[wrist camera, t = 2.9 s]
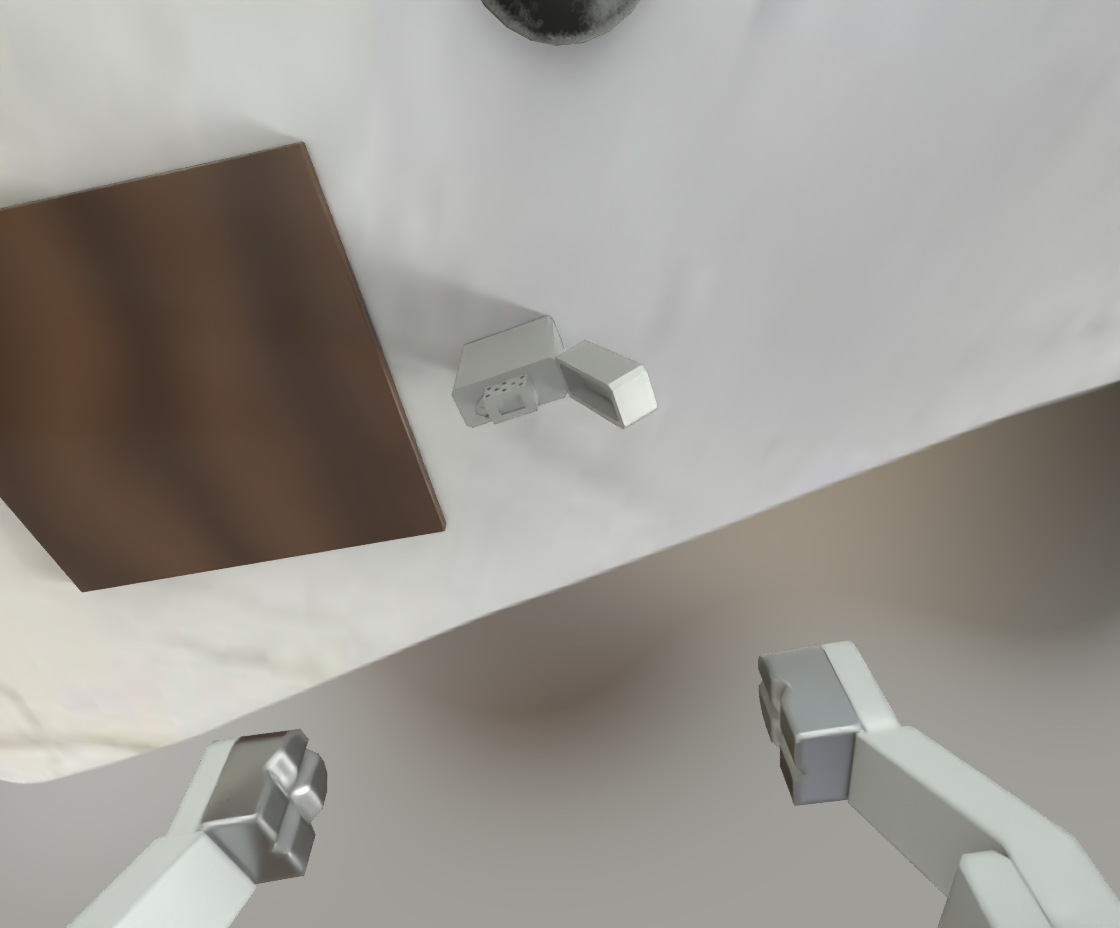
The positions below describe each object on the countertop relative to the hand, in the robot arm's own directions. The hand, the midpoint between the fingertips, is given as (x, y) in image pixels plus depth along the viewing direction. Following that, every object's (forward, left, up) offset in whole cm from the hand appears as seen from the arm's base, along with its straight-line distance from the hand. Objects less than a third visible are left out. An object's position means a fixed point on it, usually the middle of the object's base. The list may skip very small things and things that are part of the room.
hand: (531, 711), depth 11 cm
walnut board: (+17, +1, -19) cm, 25 cm away
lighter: (0, +1, -19) cm, 19 cm away
